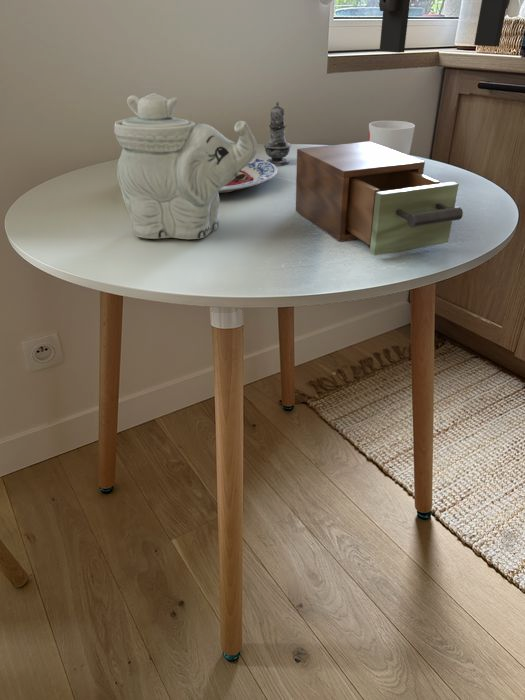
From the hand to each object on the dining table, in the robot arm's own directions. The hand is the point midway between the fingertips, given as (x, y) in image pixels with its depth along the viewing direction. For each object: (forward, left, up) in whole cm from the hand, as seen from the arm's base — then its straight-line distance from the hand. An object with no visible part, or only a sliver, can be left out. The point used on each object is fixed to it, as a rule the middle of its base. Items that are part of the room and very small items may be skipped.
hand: (441, 49), depth 56 cm
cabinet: (+10, -16, -24) cm, 31 cm away
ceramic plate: (+40, -30, -25) cm, 56 cm away
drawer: (+3, -8, -23) cm, 25 cm away
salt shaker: (+32, -48, -25) cm, 63 cm away
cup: (+8, -40, -25) cm, 48 cm away
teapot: (+32, -4, -25) cm, 41 cm away
